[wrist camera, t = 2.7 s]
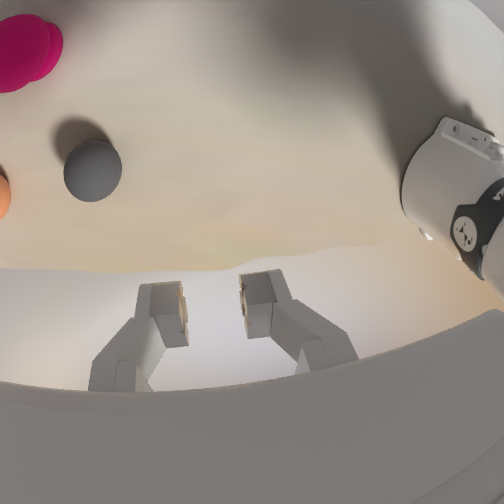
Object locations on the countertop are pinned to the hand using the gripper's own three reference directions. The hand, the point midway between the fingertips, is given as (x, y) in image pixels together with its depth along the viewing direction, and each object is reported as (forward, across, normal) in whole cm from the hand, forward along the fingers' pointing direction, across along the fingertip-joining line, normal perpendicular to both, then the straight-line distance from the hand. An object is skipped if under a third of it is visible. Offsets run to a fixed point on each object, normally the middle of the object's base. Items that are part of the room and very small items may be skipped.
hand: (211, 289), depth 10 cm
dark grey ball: (+16, -10, 0) cm, 19 cm away
